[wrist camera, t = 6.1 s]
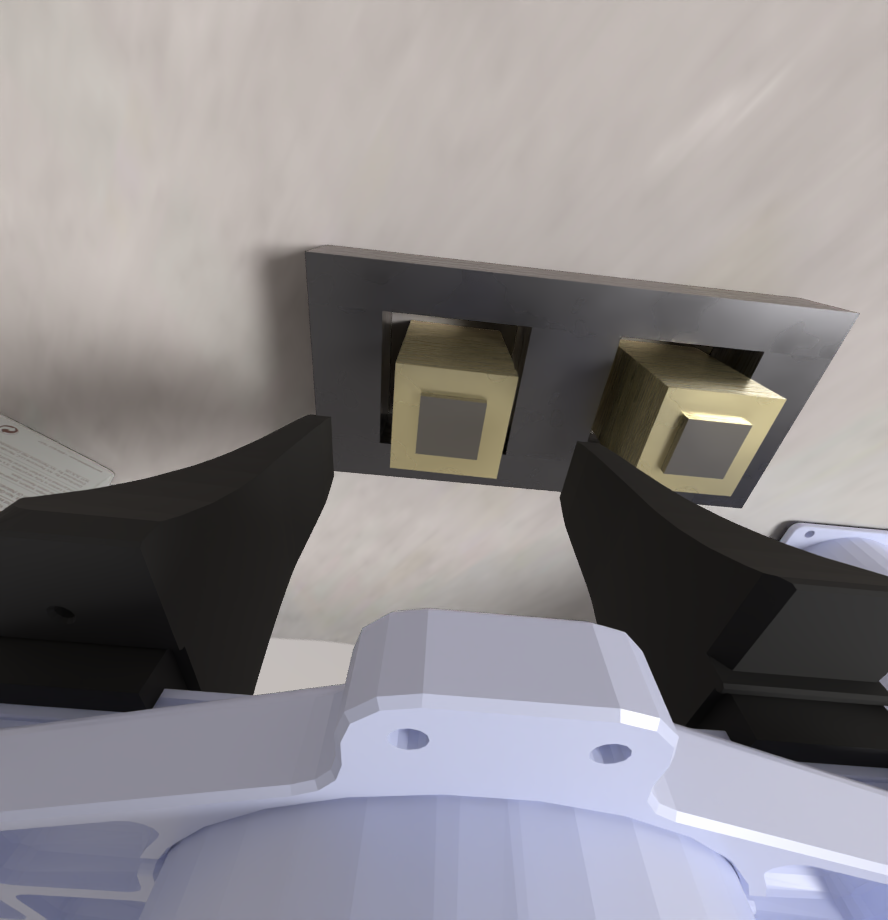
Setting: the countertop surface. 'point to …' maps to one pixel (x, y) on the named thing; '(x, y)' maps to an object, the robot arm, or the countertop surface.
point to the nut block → (451, 400)
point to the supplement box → (42, 466)
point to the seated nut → (683, 416)
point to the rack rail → (545, 351)
